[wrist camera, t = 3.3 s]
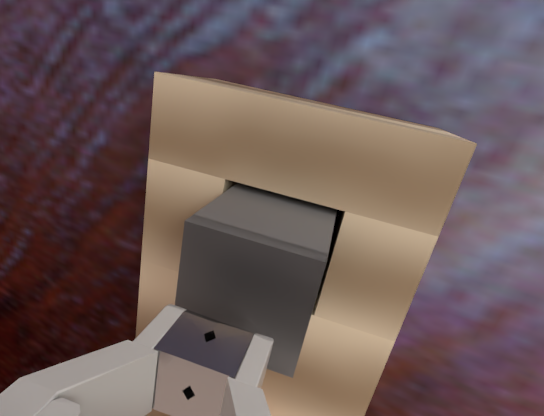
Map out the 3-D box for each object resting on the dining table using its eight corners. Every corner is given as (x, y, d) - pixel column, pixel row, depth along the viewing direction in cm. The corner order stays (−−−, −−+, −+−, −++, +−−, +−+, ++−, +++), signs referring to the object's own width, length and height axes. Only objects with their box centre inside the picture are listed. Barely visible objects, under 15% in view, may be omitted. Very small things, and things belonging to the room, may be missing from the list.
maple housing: (214, 78, 19) (154, 71, 13) (438, 128, 17) (477, 143, 11) (173, 393, 27) (126, 469, 22) (319, 449, 25) (308, 549, 20)
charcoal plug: (242, 179, 15) (184, 220, 10) (337, 205, 15) (326, 262, 10) (227, 263, 17) (171, 335, 12) (313, 290, 16) (292, 378, 11)
